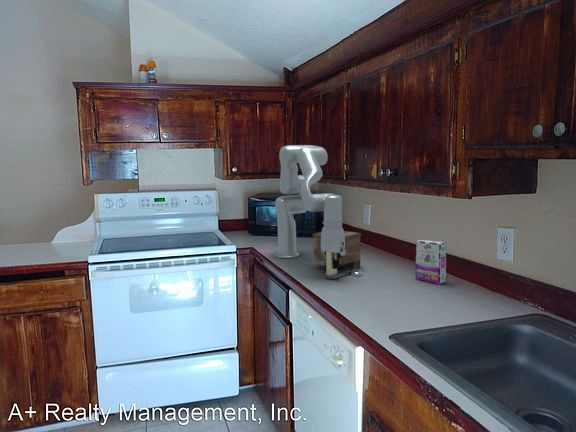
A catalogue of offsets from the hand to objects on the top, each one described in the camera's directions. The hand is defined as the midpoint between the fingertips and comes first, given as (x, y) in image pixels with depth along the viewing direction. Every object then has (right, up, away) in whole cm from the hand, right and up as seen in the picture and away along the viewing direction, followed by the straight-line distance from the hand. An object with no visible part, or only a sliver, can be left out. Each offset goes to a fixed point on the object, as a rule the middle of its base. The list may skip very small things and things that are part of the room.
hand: (333, 267), depth 182 cm
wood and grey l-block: (+4, -4, +4) cm, 6 cm away
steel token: (+11, -4, +4) cm, 12 cm away
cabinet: (+4, -2, +17) cm, 18 cm away
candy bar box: (+39, -5, -7) cm, 40 cm away
